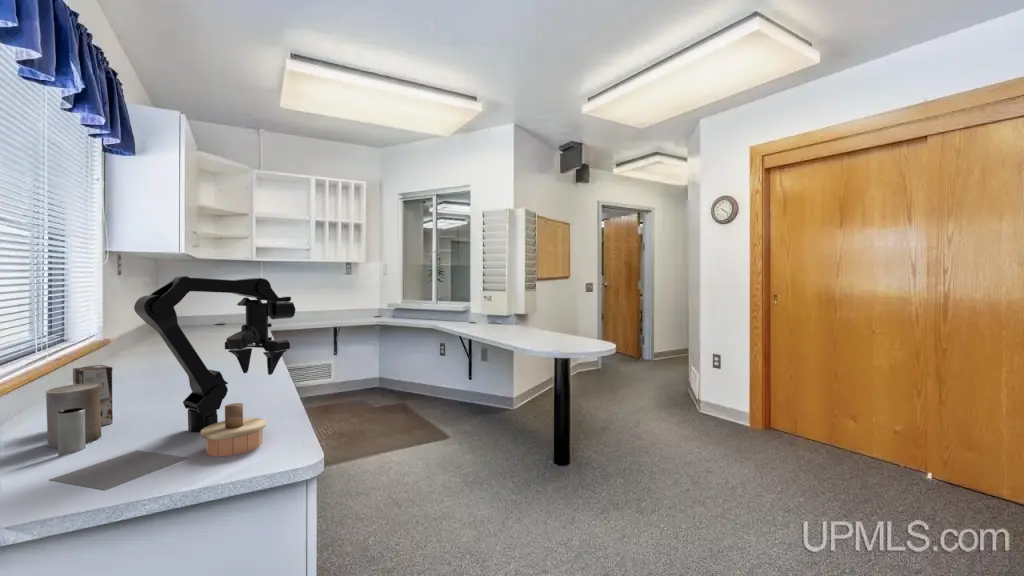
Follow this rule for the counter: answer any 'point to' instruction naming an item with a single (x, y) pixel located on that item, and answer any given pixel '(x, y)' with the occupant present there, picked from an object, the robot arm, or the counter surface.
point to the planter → (71, 430)
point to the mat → (118, 470)
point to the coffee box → (104, 379)
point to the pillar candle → (74, 398)
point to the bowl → (233, 444)
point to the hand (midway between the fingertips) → (257, 373)
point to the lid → (233, 424)
